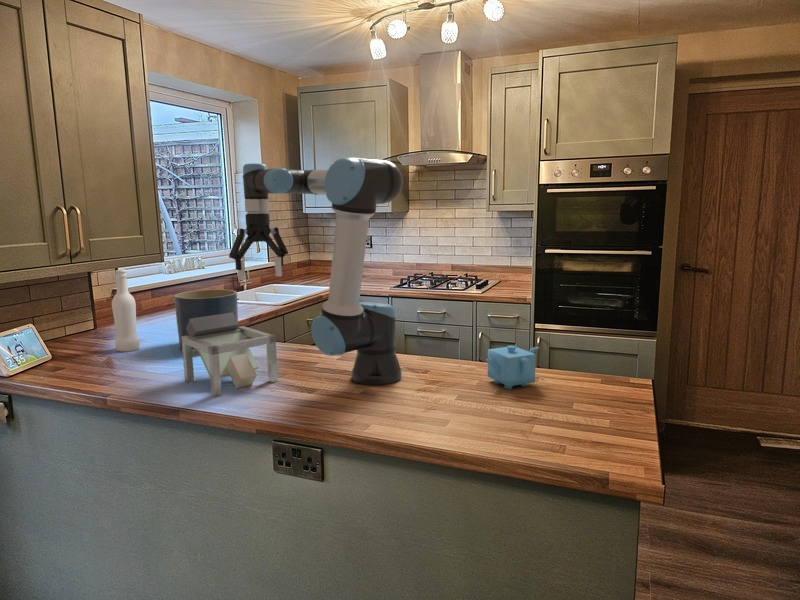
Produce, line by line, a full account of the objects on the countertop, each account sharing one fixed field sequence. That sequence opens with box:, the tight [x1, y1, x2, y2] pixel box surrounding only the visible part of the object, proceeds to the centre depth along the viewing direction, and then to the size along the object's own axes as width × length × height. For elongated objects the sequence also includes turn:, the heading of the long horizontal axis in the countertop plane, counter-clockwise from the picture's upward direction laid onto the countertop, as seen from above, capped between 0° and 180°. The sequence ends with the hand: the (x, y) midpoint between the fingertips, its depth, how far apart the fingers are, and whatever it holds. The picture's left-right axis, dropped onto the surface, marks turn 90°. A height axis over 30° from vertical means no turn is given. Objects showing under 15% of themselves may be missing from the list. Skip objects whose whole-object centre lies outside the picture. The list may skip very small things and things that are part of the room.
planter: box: [173, 288, 239, 352], centre depth 210 cm, size 22×22×20 cm
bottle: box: [111, 268, 141, 353], centre depth 205 cm, size 8×8×30 cm
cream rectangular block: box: [226, 354, 258, 390], centre depth 163 cm, size 5×5×8 cm
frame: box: [181, 325, 279, 398], centre depth 166 cm, size 20×20×14 cm
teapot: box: [485, 345, 540, 390], centre depth 161 cm, size 16×18×11 cm
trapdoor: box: [186, 312, 260, 379], centre depth 169 cm, size 20×15×5 cm
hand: (260, 278), depth 183 cm, fingers open, 13 cm apart
